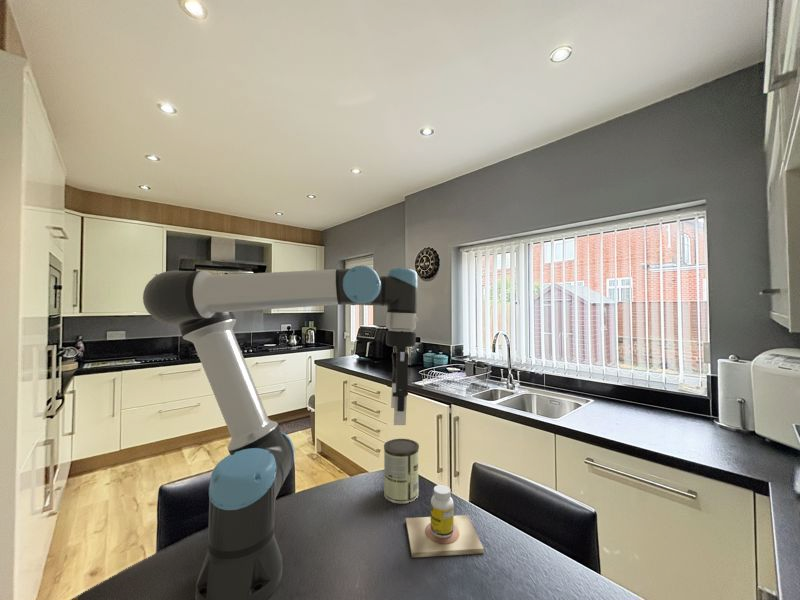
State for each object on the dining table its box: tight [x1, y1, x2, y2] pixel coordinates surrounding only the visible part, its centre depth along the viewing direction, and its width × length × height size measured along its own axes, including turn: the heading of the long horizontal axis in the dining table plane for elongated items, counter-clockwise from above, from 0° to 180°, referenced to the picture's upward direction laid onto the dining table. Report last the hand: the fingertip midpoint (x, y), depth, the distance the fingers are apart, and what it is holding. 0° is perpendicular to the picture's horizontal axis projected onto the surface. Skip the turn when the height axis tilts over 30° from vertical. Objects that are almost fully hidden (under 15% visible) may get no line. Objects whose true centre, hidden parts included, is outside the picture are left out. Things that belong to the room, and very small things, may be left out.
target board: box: [405, 514, 485, 558], centre depth 77 cm, size 16×12×1 cm
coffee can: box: [383, 438, 420, 505], centre depth 95 cm, size 10×10×14 cm
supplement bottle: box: [430, 484, 455, 538], centre depth 77 cm, size 5×5×10 cm
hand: (397, 415), depth 81 cm, fingers open, 13 cm apart
